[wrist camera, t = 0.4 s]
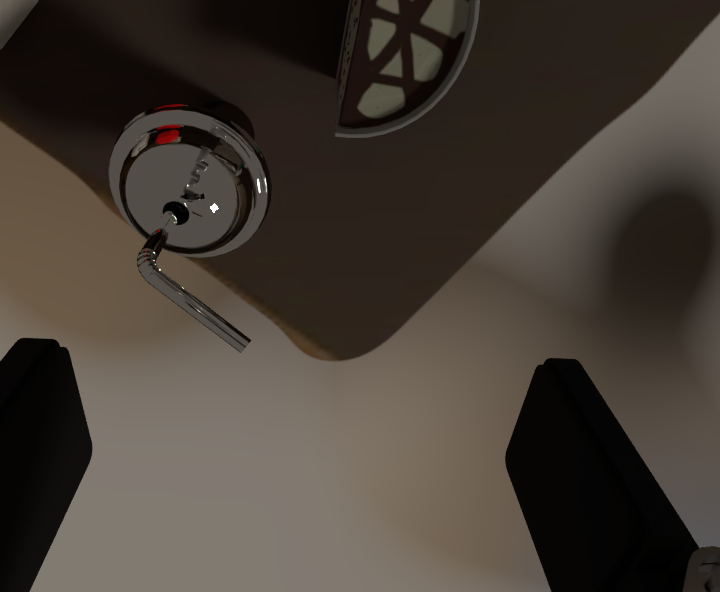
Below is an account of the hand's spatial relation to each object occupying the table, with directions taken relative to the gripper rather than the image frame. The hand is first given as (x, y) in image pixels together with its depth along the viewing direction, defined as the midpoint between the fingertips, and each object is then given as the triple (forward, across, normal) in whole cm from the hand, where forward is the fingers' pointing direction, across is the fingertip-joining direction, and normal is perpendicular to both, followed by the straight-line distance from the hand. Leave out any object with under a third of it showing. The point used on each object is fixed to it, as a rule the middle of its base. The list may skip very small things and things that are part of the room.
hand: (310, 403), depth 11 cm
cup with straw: (+30, +6, +3) cm, 31 cm away
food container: (+30, -5, -6) cm, 31 cm away
